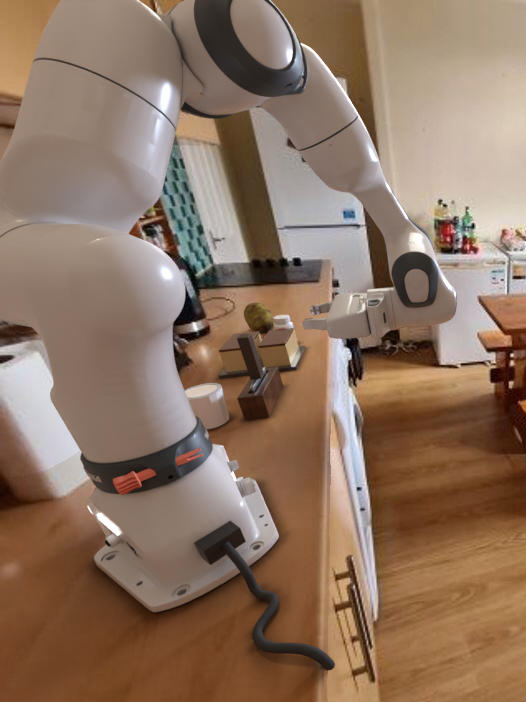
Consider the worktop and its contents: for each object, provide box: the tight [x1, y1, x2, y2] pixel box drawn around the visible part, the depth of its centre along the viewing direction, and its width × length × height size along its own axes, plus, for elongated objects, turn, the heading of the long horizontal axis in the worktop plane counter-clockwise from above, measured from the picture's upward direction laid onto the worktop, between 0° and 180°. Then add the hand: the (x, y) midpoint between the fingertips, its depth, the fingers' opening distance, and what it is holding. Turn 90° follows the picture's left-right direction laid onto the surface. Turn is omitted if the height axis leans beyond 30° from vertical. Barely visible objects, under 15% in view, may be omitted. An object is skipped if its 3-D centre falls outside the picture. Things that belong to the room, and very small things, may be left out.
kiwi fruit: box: [243, 301, 275, 335], centre depth 129 cm, size 8×13×8 cm, turn 23°
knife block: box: [236, 367, 284, 421], centre depth 87 cm, size 14×4×5 cm, turn 16°
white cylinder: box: [184, 382, 230, 430], centre depth 80 cm, size 7×7×7 cm
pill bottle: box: [272, 314, 298, 340], centre depth 117 cm, size 5×5×8 cm
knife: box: [237, 334, 267, 393], centre depth 85 cm, size 10×2×15 cm, turn 16°
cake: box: [217, 327, 306, 379], centre depth 106 cm, size 15×17×7 cm
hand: (307, 316), depth 83 cm, fingers open, 8 cm apart
